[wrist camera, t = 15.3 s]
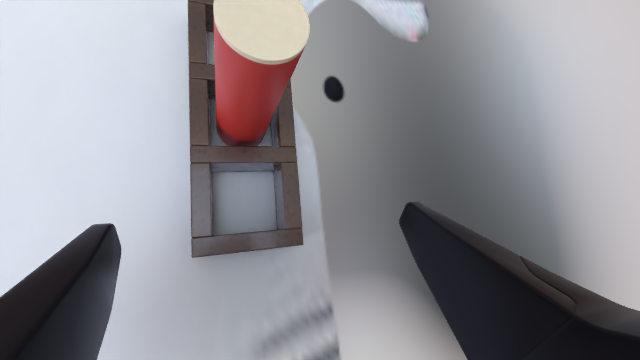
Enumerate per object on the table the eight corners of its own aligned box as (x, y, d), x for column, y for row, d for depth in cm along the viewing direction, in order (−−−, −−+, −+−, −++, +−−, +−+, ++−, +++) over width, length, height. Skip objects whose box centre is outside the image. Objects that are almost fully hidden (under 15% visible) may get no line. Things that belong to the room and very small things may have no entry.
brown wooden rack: (292, 243, 22) (303, 244, 19) (195, 254, 20) (191, 257, 17) (277, 29, 25) (284, 4, 22) (191, 15, 23) (187, -15, 20)
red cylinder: (272, 139, 23) (325, 46, 12) (230, 157, 22) (243, 72, 10) (251, 99, 23) (283, -33, 12) (207, 115, 22) (194, -18, 10)
